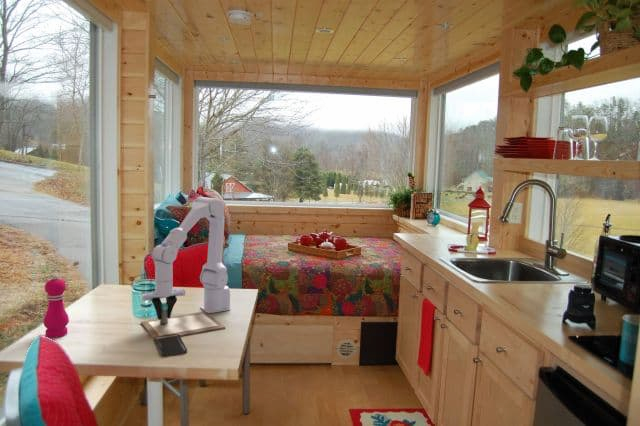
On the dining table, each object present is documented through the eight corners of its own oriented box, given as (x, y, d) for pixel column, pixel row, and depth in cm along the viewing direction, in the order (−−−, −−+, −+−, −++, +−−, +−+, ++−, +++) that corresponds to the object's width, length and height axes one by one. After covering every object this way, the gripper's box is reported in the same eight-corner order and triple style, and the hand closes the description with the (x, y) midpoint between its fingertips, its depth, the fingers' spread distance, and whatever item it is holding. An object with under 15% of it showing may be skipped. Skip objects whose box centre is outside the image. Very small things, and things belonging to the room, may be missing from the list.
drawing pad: (206, 313, 185) (206, 311, 185) (225, 328, 170) (225, 326, 170) (140, 323, 171) (140, 321, 171) (155, 341, 156) (155, 338, 156)
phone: (178, 333, 162) (187, 350, 148) (178, 337, 162) (187, 354, 148) (153, 336, 158) (160, 354, 145) (153, 340, 158) (160, 358, 145)
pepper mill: (73, 333, 160) (72, 274, 157) (52, 340, 154) (50, 278, 151) (60, 328, 163) (59, 270, 161) (39, 335, 157) (37, 274, 155)
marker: (166, 321, 171) (166, 302, 171) (168, 323, 169) (169, 304, 168) (158, 322, 170) (158, 303, 169) (161, 325, 168) (161, 305, 167)
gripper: (181, 274, 175) (180, 311, 177) (139, 279, 167) (139, 317, 169) (187, 279, 169) (187, 317, 171) (144, 284, 161) (144, 323, 163)
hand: (163, 317), depth 169 cm, fingers closed on marker, 3 cm apart
